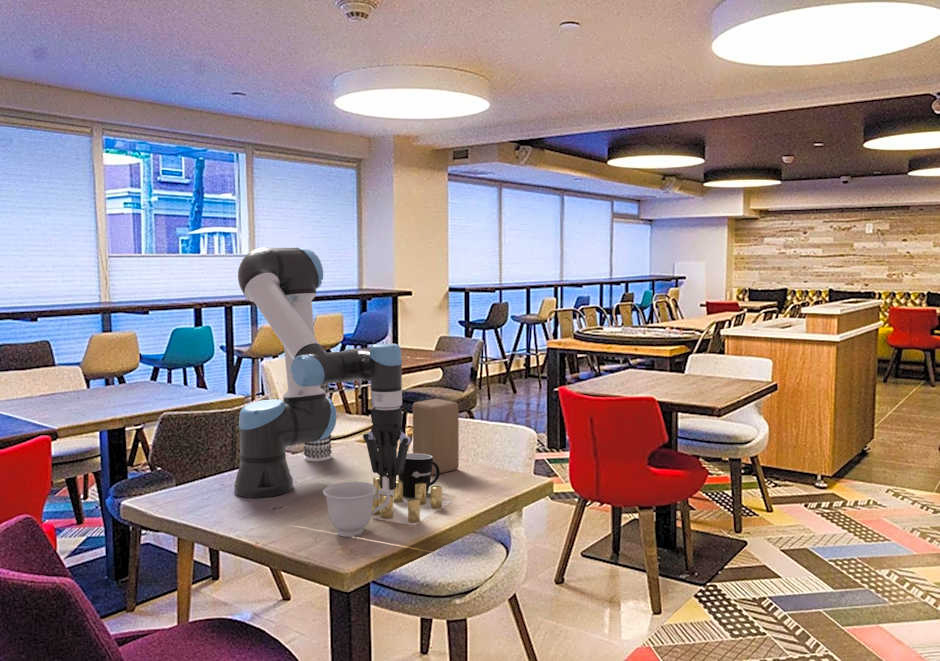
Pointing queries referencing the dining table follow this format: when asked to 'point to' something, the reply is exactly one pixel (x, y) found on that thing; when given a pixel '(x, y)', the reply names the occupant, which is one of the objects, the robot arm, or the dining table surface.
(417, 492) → the spacers
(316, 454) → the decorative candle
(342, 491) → the teacup
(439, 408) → the block
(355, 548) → the dining table surface
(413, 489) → the mug
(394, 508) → the tray
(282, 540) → the dining table surface
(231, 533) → the dining table surface
